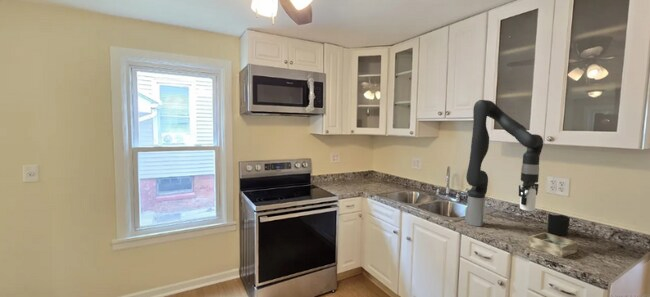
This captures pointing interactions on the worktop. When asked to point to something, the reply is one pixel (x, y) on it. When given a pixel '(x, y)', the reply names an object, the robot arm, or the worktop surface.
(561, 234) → the pen holder
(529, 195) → the can
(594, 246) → the worktop surface
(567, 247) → the bore box
